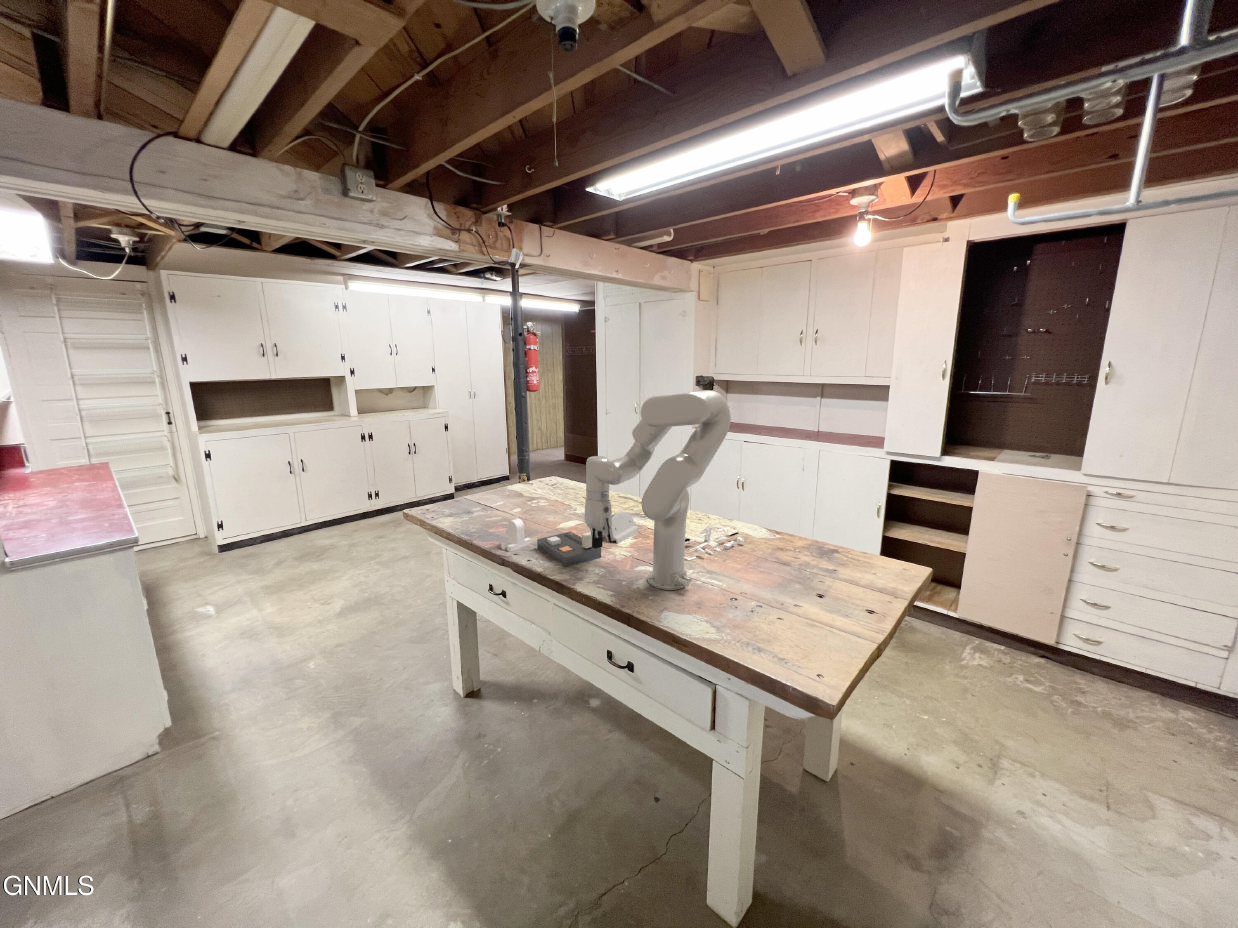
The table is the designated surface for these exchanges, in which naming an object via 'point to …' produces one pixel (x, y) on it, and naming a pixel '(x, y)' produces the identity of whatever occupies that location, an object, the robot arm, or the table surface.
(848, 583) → the table surface
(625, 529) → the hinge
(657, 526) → the robot arm
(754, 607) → the table surface
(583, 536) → the cream tall block
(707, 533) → the miniature set
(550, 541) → the grey key
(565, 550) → the terracotta key
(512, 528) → the cable organizer
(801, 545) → the table surface
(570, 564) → the control panel
